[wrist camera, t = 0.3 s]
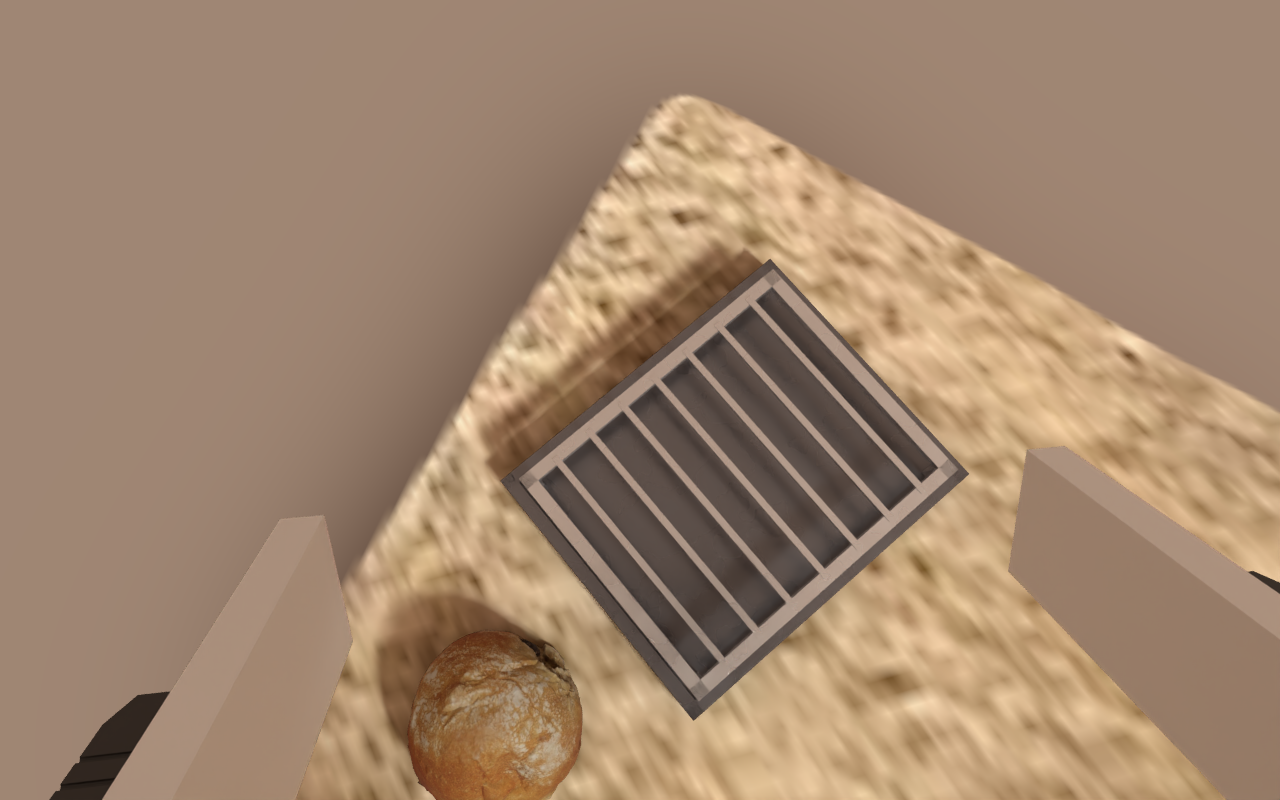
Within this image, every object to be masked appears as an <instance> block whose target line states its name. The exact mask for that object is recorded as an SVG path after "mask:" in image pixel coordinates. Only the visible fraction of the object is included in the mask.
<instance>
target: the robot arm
mask: <svg viewBox="0 0 1280 800" xmlns="http://www.w3.org/2000/svg"><path fill="white" fill-rule="evenodd" d="M1008 571H1009V572H1010V573H1011V575H1012V576H1013V577H1014V578H1015V579H1016V580H1017V581H1018V582H1019V583H1020V584H1021V585H1022V586H1023V587H1024V588H1025V589H1026V590H1027V591H1028V592H1029V593H1030V594H1031V595H1032V596H1033V598H1034V599H1035V600H1036V601H1037V602H1038V603H1039V604H1040V605H1041V606H1042V607H1043V608H1044V609H1045V610H1046V611H1047V612H1048V613H1049V614H1050V615H1051V616H1052V617H1053V618H1054V620H1055V621H1056V622H1057V623H1058V624H1059V625H1060V626H1061V627H1062V628H1063V629H1064V630H1065V631H1066V632H1067V633H1068V634H1069V635H1070V636H1071V637H1072V638H1073V639H1074V640H1075V641H1076V643H1077V644H1078V645H1079V646H1080V647H1081V648H1082V649H1083V650H1084V651H1085V652H1086V653H1087V654H1088V655H1089V656H1090V657H1091V658H1092V659H1093V660H1094V661H1095V662H1096V663H1097V664H1098V666H1099V667H1100V668H1101V669H1102V670H1103V671H1104V672H1105V673H1106V674H1107V675H1108V676H1109V677H1110V678H1111V679H1112V680H1113V681H1114V682H1115V683H1116V684H1117V685H1118V686H1119V687H1120V689H1121V690H1122V691H1123V692H1124V693H1125V694H1126V695H1127V696H1128V697H1129V698H1130V699H1131V700H1132V701H1133V702H1134V703H1135V704H1136V705H1137V706H1138V707H1139V708H1140V709H1141V710H1142V712H1143V713H1144V714H1145V715H1146V716H1147V717H1148V718H1149V719H1150V720H1151V721H1152V722H1153V723H1154V724H1155V725H1156V726H1157V727H1158V728H1159V729H1160V730H1161V731H1162V732H1163V733H1164V735H1165V736H1166V737H1167V738H1168V739H1169V740H1170V741H1171V742H1172V743H1173V744H1174V745H1175V746H1176V747H1177V748H1178V749H1179V750H1180V751H1181V752H1182V753H1183V754H1184V755H1185V756H1186V758H1187V759H1188V760H1189V761H1190V762H1191V763H1192V764H1193V765H1194V766H1195V767H1196V768H1197V769H1198V770H1199V771H1200V772H1201V773H1202V774H1203V775H1204V776H1205V777H1206V778H1207V779H1208V781H1209V782H1210V783H1211V784H1212V785H1213V786H1214V787H1215V788H1216V789H1217V790H1218V791H1219V792H1220V793H1221V794H1222V795H1223V796H1224V797H1225V798H1226V799H1227V800H1280V583H1279V582H1277V581H1275V580H1272V579H1270V578H1268V577H1265V576H1263V575H1261V574H1259V573H1256V572H1254V571H1250V572H1247V571H1246V570H1244V569H1243V568H1241V567H1240V566H1238V565H1237V564H1235V563H1234V562H1232V561H1231V560H1230V559H1228V558H1227V557H1225V556H1224V555H1222V554H1221V553H1219V552H1218V551H1216V550H1215V549H1214V548H1212V547H1211V546H1209V545H1208V544H1206V543H1205V542H1203V541H1202V540H1200V539H1199V538H1198V537H1196V536H1195V535H1193V534H1192V533H1190V532H1189V531H1187V530H1186V529H1184V528H1183V527H1182V526H1180V525H1179V524H1177V523H1176V522H1174V521H1173V520H1171V519H1170V518H1168V517H1167V516H1166V515H1164V514H1163V513H1161V512H1160V511H1158V510H1157V509H1155V508H1154V507H1153V506H1151V505H1150V504H1148V503H1147V502H1145V501H1144V500H1142V499H1141V498H1139V497H1138V496H1137V495H1135V494H1134V493H1132V492H1131V491H1129V490H1128V489H1126V488H1125V487H1123V486H1122V485H1121V484H1119V483H1118V482H1116V481H1115V480H1113V479H1112V478H1110V477H1109V476H1107V475H1106V474H1105V473H1103V472H1102V471H1100V470H1099V469H1097V468H1096V467H1094V466H1093V465H1091V464H1090V463H1089V462H1087V461H1086V460H1084V459H1083V458H1081V457H1080V456H1078V455H1077V454H1075V453H1074V452H1073V451H1071V450H1070V449H1068V448H1067V447H1065V446H1061V447H1050V448H1039V449H1029V450H1027V452H1026V459H1025V465H1024V472H1023V478H1022V485H1021V491H1020V498H1019V504H1018V511H1017V517H1016V524H1015V530H1014V537H1013V544H1012V550H1011V557H1010V563H1009V570H1008ZM352 642H353V639H352V635H351V630H350V626H349V621H348V617H347V613H346V608H345V604H344V599H343V595H342V591H341V586H340V582H339V577H338V573H337V569H336V564H335V560H334V556H333V551H332V547H331V542H330V538H329V533H328V529H327V525H326V520H325V516H324V515H318V516H308V517H296V518H286V519H280V520H279V521H278V523H277V525H276V526H275V528H274V529H273V531H272V532H271V534H270V535H269V537H268V539H267V540H266V542H265V543H264V545H263V547H262V548H261V550H260V551H259V553H258V554H257V556H256V558H255V559H254V561H253V562H252V564H251V566H250V567H249V569H248V570H247V572H246V573H245V575H244V577H243V578H242V580H241V581H240V583H239V585H238V586H237V588H236V589H235V591H234V592H233V594H232V595H231V597H230V599H229V601H228V602H227V603H226V605H225V606H224V608H223V610H222V611H221V613H220V614H219V616H218V618H217V619H216V621H215V622H214V624H213V625H212V627H211V629H210V630H209V632H208V633H207V635H206V636H205V638H204V640H203V641H202V643H201V645H200V646H199V648H198V649H197V651H196V652H195V654H194V655H193V657H192V658H191V660H190V662H189V663H188V665H187V666H186V668H185V670H184V671H183V673H182V674H181V676H180V678H179V679H178V681H177V682H176V684H175V686H174V687H173V688H172V690H171V692H162V693H154V694H144V695H137V696H136V697H135V698H134V699H133V700H132V701H130V702H129V703H128V704H127V705H126V706H124V707H123V708H122V709H121V710H120V711H118V712H117V713H116V714H115V715H114V716H112V718H110V719H109V720H108V721H107V722H105V723H104V724H103V725H102V726H101V728H100V729H99V731H98V732H97V733H96V735H95V736H94V738H93V739H92V741H91V742H90V744H89V745H88V746H87V748H86V749H85V750H84V752H83V753H82V755H81V756H80V762H79V763H76V764H75V765H74V766H73V767H72V769H71V770H70V772H69V773H68V774H67V776H66V777H65V779H64V780H63V781H62V783H61V789H60V791H56V792H55V793H54V794H53V796H52V797H51V799H50V800H296V797H297V794H298V792H299V789H300V786H301V783H302V781H303V778H304V775H305V772H306V769H307V767H308V764H309V761H310V758H311V756H312V753H313V750H314V747H315V744H316V742H317V739H318V736H319V733H320V731H321V728H322V725H323V722H324V719H325V717H326V714H327V711H328V708H329V706H330V703H331V700H332V697H333V694H334V692H335V689H336V686H337V683H338V681H339V678H340V675H341V672H342V669H343V667H344V664H345V661H346V658H347V656H348V653H349V650H350V647H351V645H352Z"/></svg>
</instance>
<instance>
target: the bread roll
mask: <svg viewBox="0 0 1280 800" xmlns="http://www.w3.org/2000/svg"><path fill="white" fill-rule="evenodd" d="M581 734H582V707H581V704H580V698H579V696H578V690H577V687H576V685H575V684H574V682H573V680H572V678H571V675H570V672H569V670H568V669H564V660H563V658H562V657H561V656H560V655H559V653H558V652H557V651H556V650H555V649H554V648H553V647H551V646H549V645H547V644H544V646H543V648H539V647H538V646H536V645H535V644H533V643H531V642H529V641H527V640H524V639H523V638H520V636H518V635H515V634H512V633H510V632H501V631H491V630H484V631H480V632H476V633H472V634H469V635H466V636H464V637H462V638H460V639H458V640H457V641H455V642H453V643H452V644H451V645H449V646H448V647H447V648H446V649H445V650H444V651H443V652H442V653H441V654H440V655H439V656H438V657H437V658H436V659H435V660H434V661H433V662H432V663H431V665H430V666H429V667H428V669H427V671H426V673H425V674H424V676H423V678H422V680H421V682H420V684H419V687H418V690H417V693H416V696H415V699H414V702H413V705H412V713H411V717H410V721H409V725H408V740H409V743H408V748H409V751H410V755H411V760H412V764H413V769H414V771H415V773H416V776H417V777H418V779H419V782H418V783H419V784H421V785H422V786H424V787H425V788H426V790H427V791H429V792H430V793H431V794H432V795H433V796H434V797H435V799H436V800H547V799H550V798H551V796H552V794H553V793H554V791H555V790H556V788H557V786H558V784H559V783H560V782H561V781H562V780H564V779H565V778H566V776H567V774H568V773H569V771H570V770H571V768H572V767H573V765H574V764H575V761H576V759H577V756H578V753H579V750H580V746H581Z"/></svg>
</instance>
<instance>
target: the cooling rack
mask: <svg viewBox="0 0 1280 800" xmlns="http://www.w3.org/2000/svg"><path fill="white" fill-rule="evenodd" d="M967 475H969V473H968V472H967V471H966V470H965V469H964V468H963V467H962V466H961V465H960V464H959V463H958V461H957V460H956V459H955V458H954V457H953V456H952V455H951V454H950V453H949V452H948V451H947V450H946V448H945V447H944V446H943V445H942V444H941V443H940V442H939V441H938V440H937V439H936V438H935V437H934V435H933V434H932V433H931V432H930V431H929V430H928V429H927V428H926V427H925V426H924V425H923V424H922V423H921V421H920V420H919V419H918V418H917V417H916V416H915V415H914V414H913V413H912V412H911V411H910V410H909V408H908V407H907V406H906V405H905V404H904V403H903V402H902V401H901V400H900V399H899V398H898V397H897V396H896V394H895V393H894V392H893V391H892V390H891V389H890V388H889V387H888V386H887V385H886V384H885V383H884V381H883V380H882V379H881V378H880V377H879V376H878V375H877V374H876V373H875V372H874V371H873V370H872V369H871V367H870V366H869V365H868V364H867V363H866V362H865V361H864V360H863V359H862V358H861V357H860V356H859V354H858V353H857V352H856V351H855V350H854V349H853V348H852V347H851V346H850V345H849V344H848V343H847V341H846V340H845V339H844V338H843V337H842V336H841V335H840V334H839V333H838V332H837V331H836V330H835V329H834V327H833V326H832V325H831V324H830V323H829V322H828V321H827V320H826V319H825V318H824V317H823V316H822V314H821V313H820V312H819V311H818V310H817V309H816V308H815V307H814V306H813V305H812V304H811V303H810V302H809V300H808V299H807V298H806V297H805V296H804V295H803V294H802V293H801V292H800V291H799V290H798V289H797V287H796V286H795V285H794V284H793V283H792V282H791V281H790V280H789V279H788V278H787V277H786V276H785V275H784V273H783V272H782V271H781V270H780V269H779V268H778V267H777V266H776V265H775V264H774V263H773V262H772V260H771V259H769V260H768V261H767V262H766V263H765V264H763V265H762V266H761V267H760V268H759V269H757V270H756V271H755V272H754V273H752V274H751V275H750V276H749V277H748V278H746V279H745V280H744V281H743V282H742V283H740V284H739V285H738V286H737V287H735V288H734V289H733V290H732V291H731V292H729V293H728V294H727V295H726V296H725V297H723V298H722V299H721V300H720V301H718V302H717V303H716V304H715V305H714V306H712V307H711V308H710V309H709V310H708V311H706V312H705V313H704V314H703V315H701V316H700V317H699V318H698V319H697V320H695V321H694V322H693V323H692V324H691V325H689V326H688V327H687V328H686V329H684V330H683V331H682V332H681V333H680V334H678V335H677V336H676V337H675V338H674V339H672V340H671V341H670V342H669V343H667V344H666V345H665V346H664V347H663V348H661V349H660V350H659V351H658V352H657V353H655V354H654V355H653V356H652V357H650V358H649V359H648V360H647V361H646V362H644V363H643V364H642V365H641V366H640V367H638V368H637V369H636V370H635V371H633V372H632V373H631V374H630V375H629V376H627V377H626V378H625V379H624V380H623V381H621V382H620V383H619V384H618V385H616V386H615V387H614V388H613V389H612V390H610V391H609V392H608V393H607V394H606V395H604V396H603V397H602V398H601V399H599V400H598V401H597V402H596V403H595V404H593V405H592V406H591V407H590V408H589V409H587V410H586V411H585V412H584V413H582V414H581V415H580V416H579V417H578V418H576V419H575V420H574V421H573V422H572V423H570V424H569V425H568V426H567V427H565V428H564V429H563V430H562V431H561V432H559V433H558V434H557V435H556V436H555V437H553V438H552V439H551V440H550V441H548V442H547V443H546V444H545V445H544V446H542V447H541V448H540V449H539V450H538V451H536V452H535V453H534V454H533V455H531V456H530V457H529V458H528V459H527V460H525V461H524V462H523V463H522V464H521V465H519V466H518V467H517V468H516V469H514V470H513V471H512V472H511V473H510V474H508V475H507V476H506V477H505V478H504V479H502V480H501V482H502V483H503V485H504V486H505V487H506V488H507V490H508V491H509V492H510V493H511V495H512V496H513V497H514V498H515V499H516V501H517V502H518V503H519V504H520V506H521V507H522V508H523V509H524V511H525V512H526V513H527V514H528V516H529V517H530V518H531V519H532V521H533V522H534V523H535V524H536V526H537V527H538V528H539V529H540V531H541V532H542V533H543V534H544V536H545V537H546V538H547V539H548V541H549V542H550V543H551V544H552V545H553V547H554V548H555V549H556V550H557V552H558V553H559V554H560V555H561V557H562V558H563V559H564V560H565V562H566V563H567V564H568V565H569V567H570V568H571V569H572V570H573V572H574V573H575V574H576V575H577V577H578V578H579V579H580V580H581V582H582V583H583V584H584V585H585V586H586V588H587V589H588V590H589V591H590V593H591V594H592V595H593V596H594V598H595V599H596V600H597V601H598V603H599V604H600V605H601V606H602V608H603V609H604V610H605V611H606V613H607V614H608V615H609V616H610V618H611V619H612V620H613V621H614V623H615V624H616V625H617V626H618V628H619V629H620V630H621V631H622V632H623V634H624V635H625V636H626V637H627V639H628V640H629V641H630V642H631V644H632V645H633V646H634V647H635V649H636V650H637V651H638V652H639V654H640V655H641V656H642V657H643V659H644V660H645V661H646V662H647V664H648V665H649V666H650V667H651V669H652V670H653V671H654V672H655V674H656V675H657V676H658V677H659V678H660V680H661V681H662V682H663V683H664V685H665V686H666V687H667V688H668V690H669V691H670V692H671V693H672V695H673V696H674V697H675V698H676V700H677V701H678V702H679V703H680V705H681V706H682V707H683V708H684V710H685V711H686V712H687V713H688V715H689V716H690V717H691V718H692V719H693V721H694V720H695V719H696V718H697V717H698V716H699V715H701V714H702V713H703V712H704V711H705V710H706V709H707V708H708V707H710V706H711V705H712V704H713V703H714V702H715V701H716V700H717V699H718V698H720V697H721V696H722V695H723V694H724V693H725V692H726V691H727V690H728V689H730V688H731V687H732V686H733V685H734V684H735V683H736V682H737V681H739V680H740V679H741V678H742V677H743V676H744V675H745V674H746V673H747V672H749V671H750V670H751V669H752V668H753V667H754V666H755V665H756V664H758V663H759V662H760V661H761V660H762V659H763V658H764V657H765V656H766V655H768V654H769V653H770V652H771V651H772V650H773V649H774V648H775V647H776V646H778V645H779V644H780V643H781V642H782V641H783V640H784V639H785V638H787V637H788V636H789V635H790V634H791V633H792V632H793V631H794V630H795V629H797V628H798V627H799V626H800V625H801V624H802V623H803V622H804V621H806V620H807V619H808V618H809V617H810V616H811V615H812V614H813V613H814V612H816V611H817V610H818V609H819V608H820V607H821V606H822V605H823V604H824V603H826V602H827V601H828V600H829V599H830V598H831V597H832V596H833V595H835V594H836V593H837V592H838V591H839V590H840V589H841V588H842V587H843V586H845V585H846V584H847V583H848V582H849V581H850V580H851V579H852V578H854V577H855V576H856V575H857V574H858V573H859V572H860V571H861V570H862V569H864V568H865V567H866V566H867V565H868V564H869V563H870V562H871V561H873V560H874V559H875V558H876V557H877V556H878V555H879V554H880V553H881V552H883V551H884V550H885V549H886V548H887V547H888V546H889V545H890V544H891V543H893V542H894V541H895V540H896V539H897V538H898V537H899V536H900V535H902V534H903V533H904V532H905V531H906V530H907V529H908V528H909V527H910V526H912V525H913V524H914V523H915V522H916V521H917V520H918V519H919V518H921V517H922V516H923V515H924V514H925V513H926V512H927V511H928V510H929V509H931V508H932V507H933V506H934V505H935V504H936V503H937V502H938V501H939V500H941V499H942V498H943V497H944V496H945V495H946V494H947V493H948V492H950V491H951V490H952V489H953V488H954V487H955V486H956V485H957V484H958V483H960V482H961V481H962V480H963V479H964V478H965V477H966V476H967Z"/></svg>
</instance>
